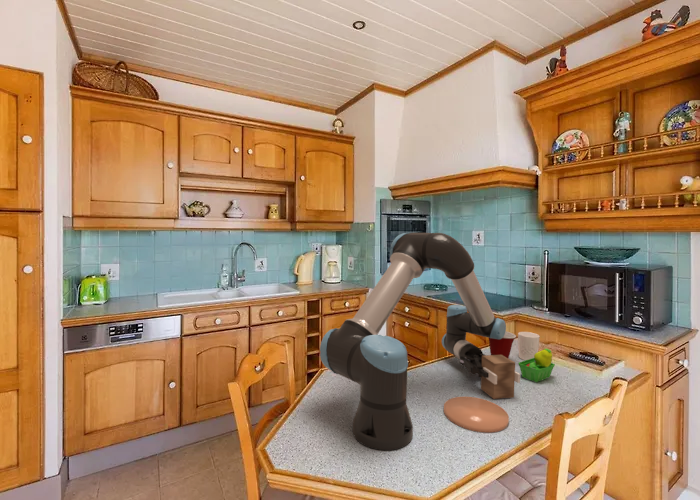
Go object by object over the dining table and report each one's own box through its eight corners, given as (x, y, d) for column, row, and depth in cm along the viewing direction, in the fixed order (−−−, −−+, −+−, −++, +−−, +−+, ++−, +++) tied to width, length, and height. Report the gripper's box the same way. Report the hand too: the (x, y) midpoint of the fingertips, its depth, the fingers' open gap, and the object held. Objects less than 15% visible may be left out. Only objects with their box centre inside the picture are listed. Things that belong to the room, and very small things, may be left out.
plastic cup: (518, 368, 131) (519, 337, 130) (488, 365, 133) (489, 335, 132) (511, 358, 141) (512, 329, 141) (483, 356, 143) (484, 327, 143)
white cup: (539, 357, 143) (540, 333, 142) (538, 363, 136) (539, 338, 136) (518, 353, 147) (519, 330, 146) (516, 359, 140) (517, 335, 140)
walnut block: (493, 398, 105) (494, 363, 105) (480, 388, 112) (481, 355, 111) (513, 397, 106) (515, 362, 106) (500, 387, 113) (501, 354, 113)
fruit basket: (534, 370, 129) (535, 340, 128) (558, 379, 121) (560, 347, 121) (516, 376, 123) (517, 345, 122) (541, 386, 115) (542, 353, 115)
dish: (462, 435, 86) (462, 430, 86) (433, 402, 103) (434, 398, 103) (522, 429, 89) (523, 424, 89) (485, 398, 106) (485, 394, 106)
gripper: (492, 362, 128) (536, 389, 106) (442, 364, 125) (477, 393, 102) (493, 342, 128) (537, 365, 106) (443, 344, 125) (477, 368, 102)
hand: (507, 379), depth 104 cm, fingers closed on walnut block, 7 cm apart
